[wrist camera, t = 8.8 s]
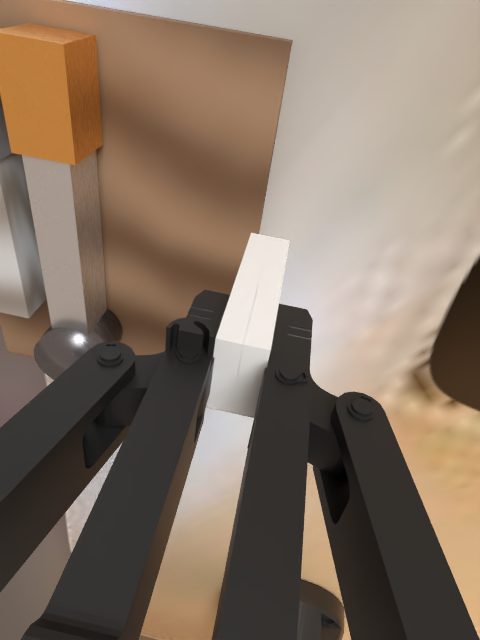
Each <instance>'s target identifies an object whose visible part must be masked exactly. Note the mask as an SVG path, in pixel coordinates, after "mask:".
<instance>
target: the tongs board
mask: <svg viewBox="0 0 480 640" xmlns="http://www.w3.org/2000/svg"><path fill="white" fill-rule="evenodd" d="M28 23H32V24H37V25H43V26H49V27H54V28H60V29H65V30H71V31H76V32H82V33H87V34H93V35H96V40H97V56H98V73H99V90H100V106H101V123H102V140H103V145H102V146H101V147H99V148H98V149H97V150H96V157H97V171H98V186H99V200H100V214H101V229H102V243H103V257H104V272H105V286H106V300H107V308H108V309H110V310H111V311H112V312H113V313H114V314H115V315H116V316H117V318H118V319H119V321H120V323H121V326H122V330H123V334H122V338H121V340H120V343H124V344H126V345H128V346H129V347H131V348H132V350H133V351H134V353H135V355H152V354H158V353H161V352H164V351H165V344H166V327H167V326H168V325H169V324H170V322H172V321H174V320H176V319H179V318H185V317H186V316H187V315H188V312H189V309H190V308H191V305H192V303H193V300H194V298H195V296H197V295H198V294H199V293H201V292H202V291H204V290H210V291H214V292H219V293H224V294H229V295H230V294H231V291H232V288H233V285H234V282H235V279H236V276H237V273H238V271H239V268H240V265H241V262H242V259H243V256H244V253H245V250H246V247H247V244H248V241H249V238H250V235H251V233H255V234H259V230H260V224H261V219H262V213H263V207H264V201H265V196H266V190H267V184H268V178H269V172H270V167H271V161H272V155H273V149H274V144H275V138H276V132H277V126H278V120H279V115H280V109H281V103H282V97H283V91H284V86H285V80H286V74H287V68H288V63H289V57H290V51H291V45H292V40H288V39H282V38H276V37H271V36H265V35H259V34H254V33H248V32H242V31H237V30H231V29H225V28H220V27H214V26H208V25H202V24H197V23H191V22H185V21H180V20H174V19H168V18H163V17H157V16H151V15H145V14H140V13H134V12H128V11H123V10H117V9H111V8H106V7H100V6H94V5H88V4H83V3H77V2H71V1H66V0H0V28H6V27H11V26H17V25H23V24H28ZM0 324H1V328H2V332H3V335H4V339H5V343H6V347H7V350H8V352H10V353H15V354H20V355H24V356H28V357H33V358H35V357H34V347H35V345H36V343H37V342H38V341H39V340H40V338H41V337H42V336H43V335H44V333H45V332H46V331H47V330H48V328H49V327H50V326H51V320H50V315H49V309H48V303H47V297H46V291H45V286H44V280H43V274H42V268H41V262H40V257H39V251H38V245H37V239H36V234H35V228H34V222H33V216H32V210H31V205H30V199H29V193H28V187H27V181H26V176H25V170H24V164H23V158H22V155H20V154H15V153H11V148H10V143H9V138H8V132H7V127H6V121H5V116H4V111H3V105H2V100H1V95H0Z"/></svg>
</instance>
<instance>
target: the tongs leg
mask: <svg viewBox="0 0 480 640" xmlns="http://www.w3.org/2000/svg"><path fill="white" fill-rule="evenodd" d="M0 95H1V100H2V105H3V111H4V116H5V121H6V127H7V132H8V138H9V143H10V148H11V153H15V154H20V155H22V158H23V164H24V170H25V176H26V181H27V187H28V193H29V199H30V205H31V210H32V216H33V222H34V228H35V234H36V239H37V245H38V251H39V257H40V262H41V268H42V274H43V280H44V286H45V291H46V297H47V303H48V309H49V315H50V320H51V326H50V327H49V328H48V330H47V331H46V332H45V333H44V335H43V336H42V337H41V338H40V340H39V341H38V342H37V343H36V345H35V347H34V357H35V360H36V362H37V364H38V366H39V367H40V368H41V369H42V370H43V372H44V373H46V374H47V375H48V376H49V377H51V378H52V379H54V380H55V379H56V378H57V377H58V376H60V375H61V374H62V373H63V372H64V371H65V370H66V369H68V368H69V367H70V366H71V365H72V364H73V363H74V362H75V361H77V360H78V359H79V358H80V357H81V356H82V355H83V354H85V353H86V352H87V351H88V350H89V349H90V348H92V347H94V346H95V345H97V344H100V343H103V342H120V340H121V338H122V334H123V330H122V326H121V323H120V321H119V319H118V318H117V316H116V315H115V314H114V313H113V312H112V311H111V310H110V309H108V308H107V300H106V286H105V272H104V257H103V243H102V229H101V214H100V200H99V186H98V171H97V157H96V150H97V149H98V148H99V147H101V146H102V145H103V140H102V123H101V106H100V90H99V73H98V56H97V40H96V35H93V34H87V33H82V32H76V31H71V30H65V29H60V28H54V27H49V26H43V25H37V24H32V23H28V24H23V25H17V26H11V27H6V28H0Z"/></svg>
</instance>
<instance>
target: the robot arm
mask: <svg viewBox="0 0 480 640" xmlns="http://www.w3.org/2000/svg"><path fill="white" fill-rule="evenodd" d="M289 242H290V240H286V239H281V238H276V237H270V236H265V235H260V234H255V233H251V235H250V238H249V241H248V244H247V247H246V250H245V253H244V256H243V259H242V262H241V265H240V268H239V271H238V273H237V276H236V279H235V282H234V285H233V288H232V291H231V294H230V295H229V294H224V293H219V292H214V291H210V290H204V291H202V292H201V293H199V294H198V295H197V296H195V298H194V300H193V303H192V305H191V308H190V309H189V312H188V315H187V316H186V317H185V318H179V319H176V320H174V321H172V322H170V324H169V325H168V326H167V327H166V344H165V351H164V352H161V353H158V354H152V355H135V353H134V351H133V350H132V348H131V347H129V346H128V345H126V344H124V343H120V342H103V343H100V344H97V345H95V346H94V347H92V348H90V349H89V350H88V351H87V352H86V353H85V354H83V355H82V356H81V357H80V358H79V359H78V360H77V361H75V362H74V363H73V364H72V365H71V366H70V367H69V368H68V369H66V370H65V371H64V372H63V373H62V374H61V375H60V376H58V377H57V378H56V379H55V380H54V381H53V382H52V383H51V384H49V385H48V386H47V387H46V388H45V389H44V390H43V391H42V392H40V393H39V394H38V395H37V396H36V397H35V398H34V399H32V400H31V401H30V402H29V403H28V404H27V405H26V406H25V407H23V408H22V409H21V410H20V411H19V412H18V413H17V414H15V415H14V416H13V417H12V418H11V419H10V420H9V421H8V422H7V423H5V424H4V425H3V426H2V427H1V428H0V592H1V591H2V590H3V588H4V587H5V586H6V585H7V583H8V582H9V581H10V580H11V579H12V577H13V576H14V575H15V574H16V572H17V571H18V570H19V569H20V567H21V566H22V565H23V564H24V563H25V561H26V560H27V559H28V558H29V556H30V555H31V554H32V553H33V551H34V550H35V549H36V548H37V546H38V545H39V544H40V543H41V542H42V540H43V539H44V538H45V537H46V535H47V534H48V533H49V532H50V531H51V529H52V528H53V527H54V525H55V524H56V523H57V522H58V521H59V519H60V518H61V517H62V516H63V514H64V513H65V512H66V511H67V510H68V508H69V507H70V506H71V505H72V503H73V502H74V501H75V500H76V498H77V497H78V496H79V495H80V494H81V492H82V491H83V490H84V489H85V487H86V486H87V485H88V484H89V482H90V481H91V480H92V479H93V478H94V476H95V475H96V474H97V473H98V471H99V470H100V469H101V468H102V466H103V465H104V464H105V463H106V462H107V460H108V459H109V458H110V457H111V455H112V454H113V453H114V452H115V450H116V449H117V448H118V447H119V446H120V444H121V443H122V442H123V443H122V445H121V447H120V449H119V452H118V454H117V456H116V458H115V460H114V463H113V465H112V467H111V469H110V471H109V473H108V476H107V478H106V480H105V482H104V484H103V486H102V489H101V491H100V493H99V495H98V497H97V499H96V502H95V504H94V506H93V508H92V510H91V512H90V515H89V517H88V519H87V521H86V523H85V525H84V528H83V530H82V532H81V534H80V536H79V539H78V541H77V543H76V545H75V547H74V549H73V552H72V554H71V556H70V558H69V560H68V563H67V565H66V567H65V569H64V571H63V573H62V575H61V578H60V580H59V582H58V584H57V586H56V589H55V591H54V593H53V595H52V597H51V599H50V602H49V604H48V606H47V608H46V609H45V611H44V613H43V614H42V616H41V617H40V618H39V619H38V620H37V621H35V622H34V623H32V624H31V625H30V627H29V628H28V629H27V631H26V632H25V633H24V635H23V637H22V639H21V640H139V636H140V633H141V630H142V626H143V623H144V619H145V616H146V613H147V609H148V606H149V603H150V599H151V596H152V592H153V589H154V586H155V582H156V579H157V576H158V572H159V569H160V566H161V562H162V559H163V555H164V552H165V549H166V545H167V542H168V539H169V535H170V532H171V528H172V525H173V522H174V518H175V515H176V512H177V508H178V505H179V502H180V498H181V495H182V491H183V488H184V485H185V481H186V478H187V475H188V471H189V468H190V464H191V461H192V458H193V454H194V451H195V448H196V444H197V441H198V438H199V434H200V431H201V427H202V424H203V420H204V412H205V408H206V404H207V408H212V409H216V410H221V411H225V412H230V413H235V414H239V415H244V416H248V417H253V418H254V422H253V426H252V431H251V435H250V439H249V444H248V451H247V457H246V462H245V467H244V472H243V478H242V483H241V488H240V494H239V499H238V504H237V509H236V515H235V520H234V525H233V531H232V536H231V541H230V546H229V552H228V557H227V562H226V568H225V573H224V578H223V583H222V589H221V594H220V599H219V605H218V610H217V615H216V620H215V626H214V631H213V636H212V640H342V637H343V633H344V609H345V613H346V618H347V622H348V627H349V631H350V635H351V640H479V637H478V635H477V632H476V630H475V628H474V625H473V623H472V620H471V618H470V616H469V613H468V611H467V608H466V606H465V604H464V601H463V599H462V596H461V594H460V592H459V589H458V587H457V584H456V582H455V579H454V577H453V575H452V572H451V570H450V567H449V565H448V563H447V560H446V558H445V555H444V553H443V551H442V548H441V546H440V543H439V541H438V539H437V536H436V534H435V531H434V529H433V527H432V524H431V522H430V519H429V517H428V514H427V512H426V510H425V507H424V505H423V502H422V500H421V498H420V495H419V493H418V490H417V488H416V486H415V483H414V481H413V478H412V476H411V474H410V471H409V469H408V466H407V464H406V462H405V459H404V457H403V454H402V452H401V449H400V447H399V445H398V442H397V440H396V437H395V435H394V433H393V430H392V428H391V425H390V423H389V421H388V418H387V416H386V413H385V411H384V410H383V408H382V406H381V405H380V404H379V403H378V402H377V401H376V400H375V399H373V398H372V397H370V396H368V395H366V394H363V393H358V392H347V393H344V394H342V395H341V396H339V398H338V397H336V396H334V395H332V394H330V393H328V392H326V391H325V390H323V389H321V388H320V387H319V386H318V385H317V384H316V383H315V382H314V381H313V379H312V377H311V374H310V353H311V337H312V321H313V320H312V318H311V316H310V314H309V312H308V310H307V309H302V308H297V307H292V306H287V305H282V304H279V300H280V294H281V289H282V283H283V277H284V271H285V266H286V260H287V254H288V248H289ZM307 462H308V463H310V464H312V465H313V471H314V476H315V480H316V485H317V489H318V493H319V498H320V502H321V507H322V511H323V516H324V520H325V525H326V529H327V533H328V538H329V542H330V547H331V551H332V556H333V560H334V564H335V569H336V573H337V578H338V582H339V587H340V591H341V596H342V600H343V604H344V607H343V605H342V603H341V602H340V601H339V600H338V599H337V598H336V597H335V596H334V595H333V594H331V593H330V592H328V591H326V590H325V589H323V588H321V587H319V586H316V585H314V584H311V583H309V582H306V581H302V580H301V564H302V547H303V530H304V513H305V496H306V478H307Z"/></svg>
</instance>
